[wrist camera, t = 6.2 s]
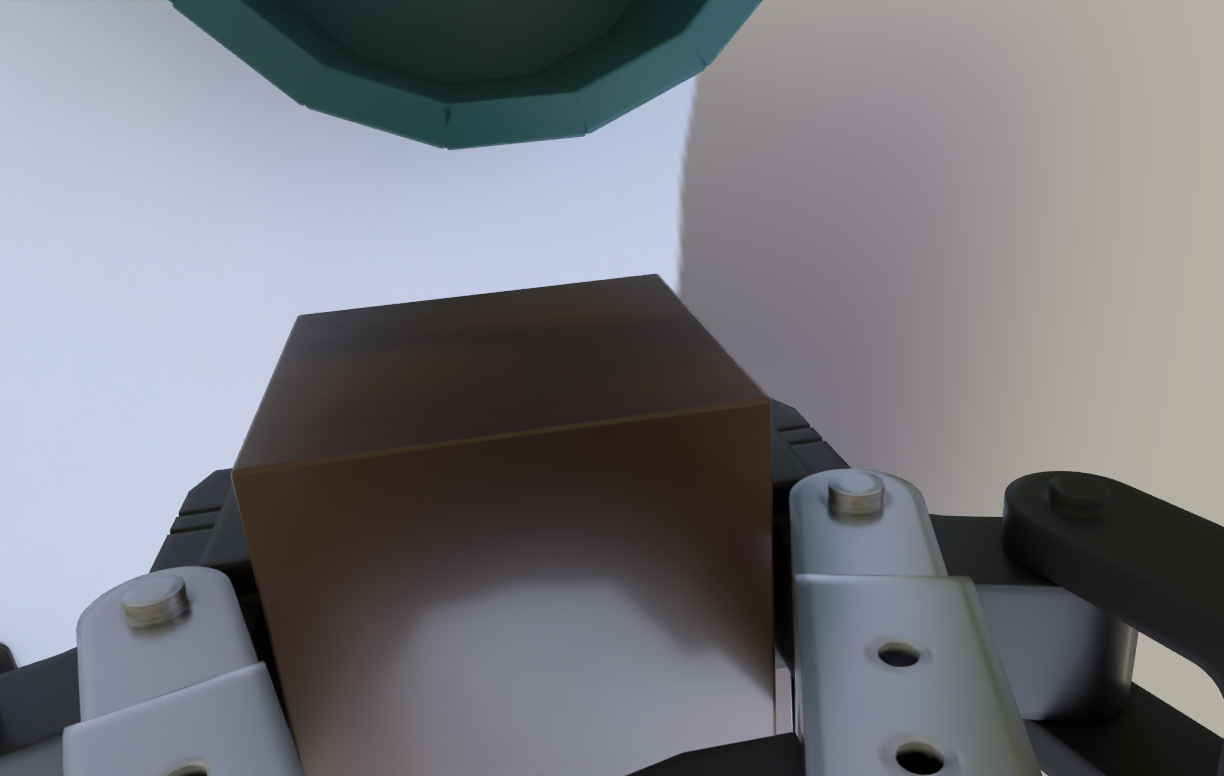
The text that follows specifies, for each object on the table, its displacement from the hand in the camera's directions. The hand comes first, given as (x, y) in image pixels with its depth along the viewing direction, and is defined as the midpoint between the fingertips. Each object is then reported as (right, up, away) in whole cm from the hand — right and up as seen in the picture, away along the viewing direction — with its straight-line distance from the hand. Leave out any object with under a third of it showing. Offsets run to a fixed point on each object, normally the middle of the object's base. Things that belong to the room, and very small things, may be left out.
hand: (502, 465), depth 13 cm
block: (0, 0, 0) cm, 0 cm away
